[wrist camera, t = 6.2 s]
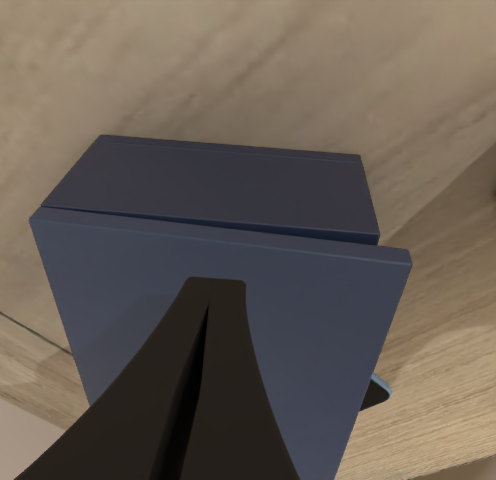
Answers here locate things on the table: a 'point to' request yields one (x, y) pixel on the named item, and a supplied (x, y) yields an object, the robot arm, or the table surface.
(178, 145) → the box
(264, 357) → the lid
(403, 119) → the table surface
